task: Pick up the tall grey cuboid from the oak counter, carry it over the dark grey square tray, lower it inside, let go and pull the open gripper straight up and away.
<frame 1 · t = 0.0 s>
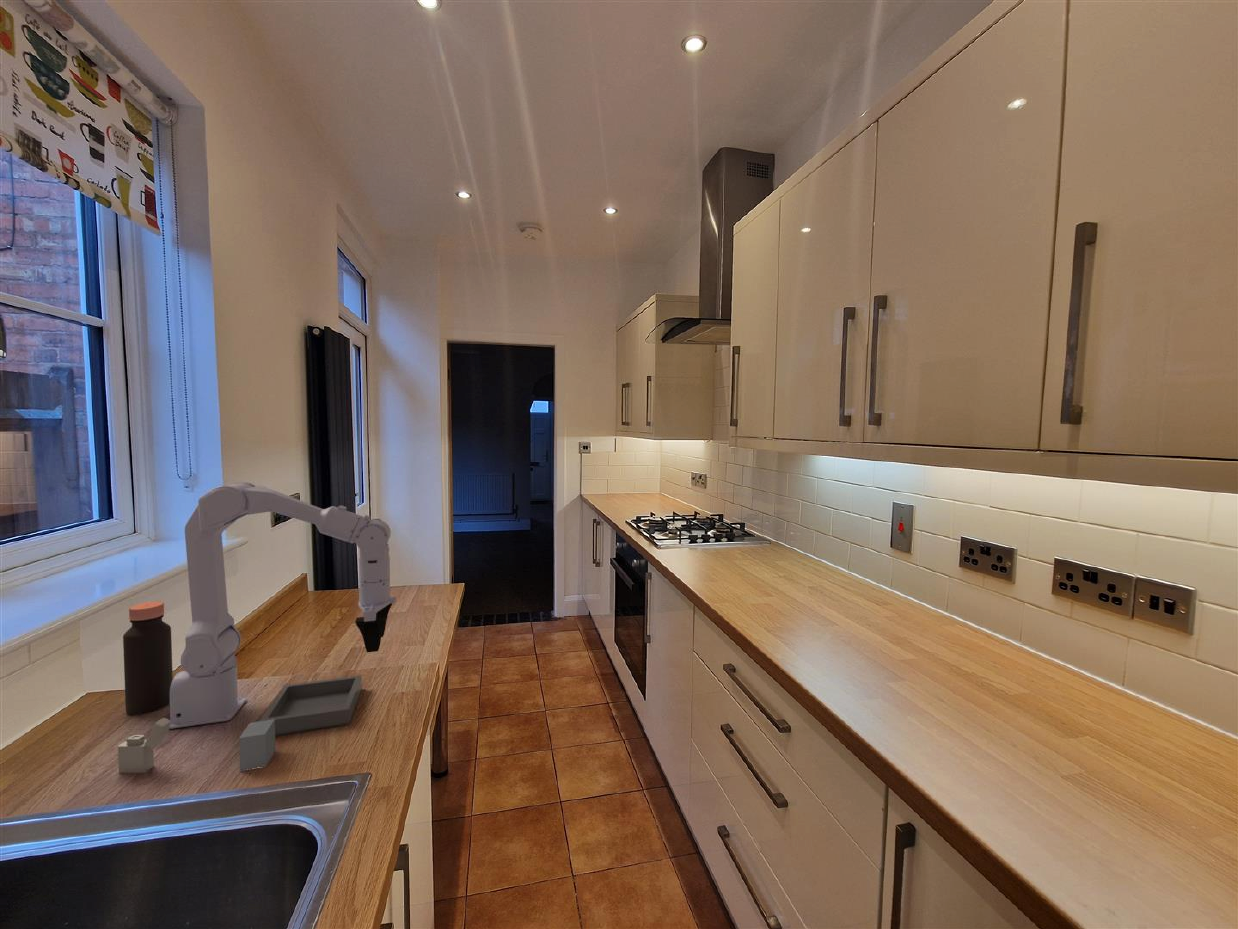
hand: (375, 644, 104), 10 cm above the counter, tool pointing down, fingers open, 7 cm apart
dark grey square tray: (315, 711, 96), on the counter
tall grey cuboid: (258, 761, 81), on the counter
lighter: (146, 770, 79), on the counter
bottle: (150, 707, 98), on the counter
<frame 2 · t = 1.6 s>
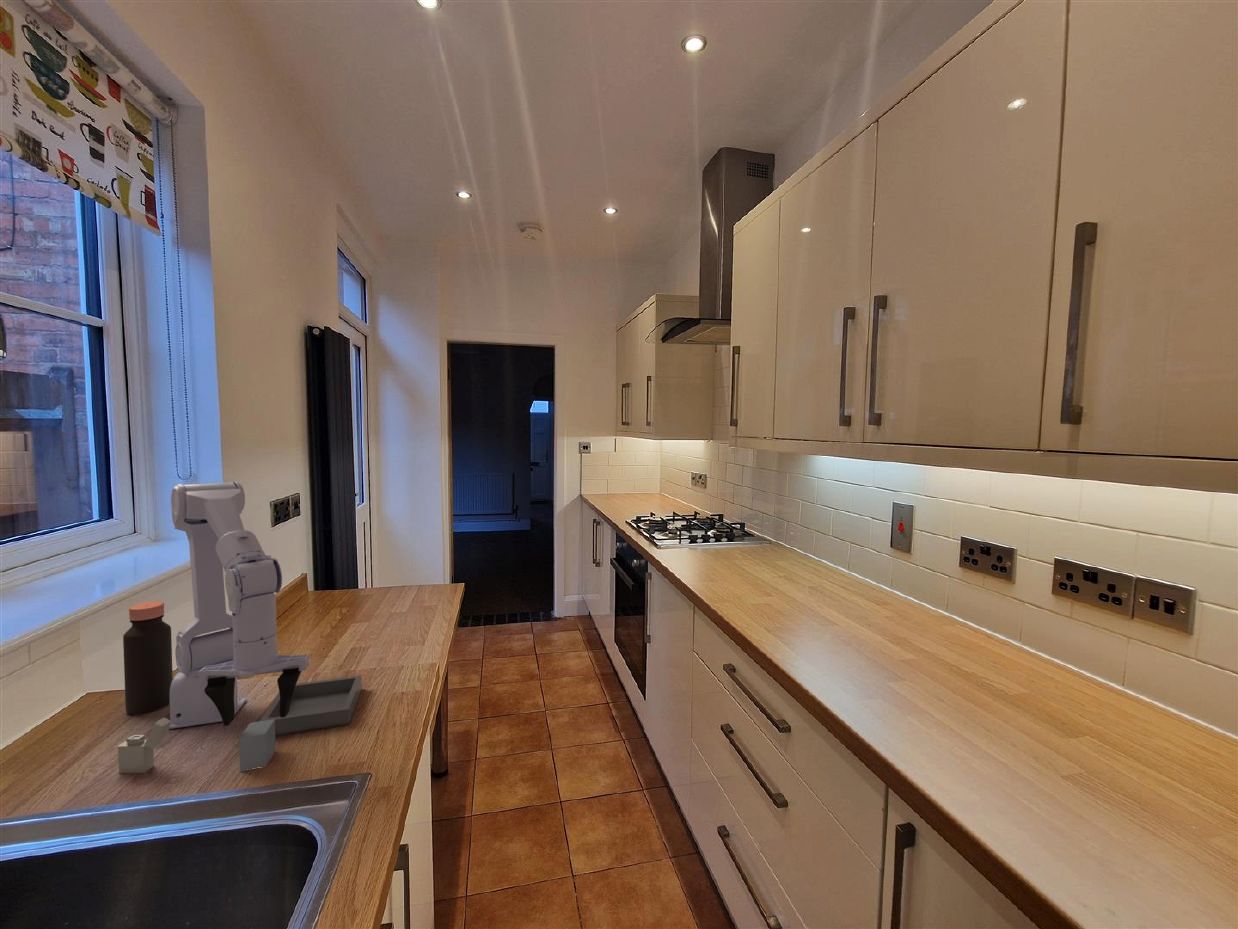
hand: (257, 718, 81), 7 cm above the counter, tool pointing down, fingers open, 7 cm apart
nothing on the counter moved.
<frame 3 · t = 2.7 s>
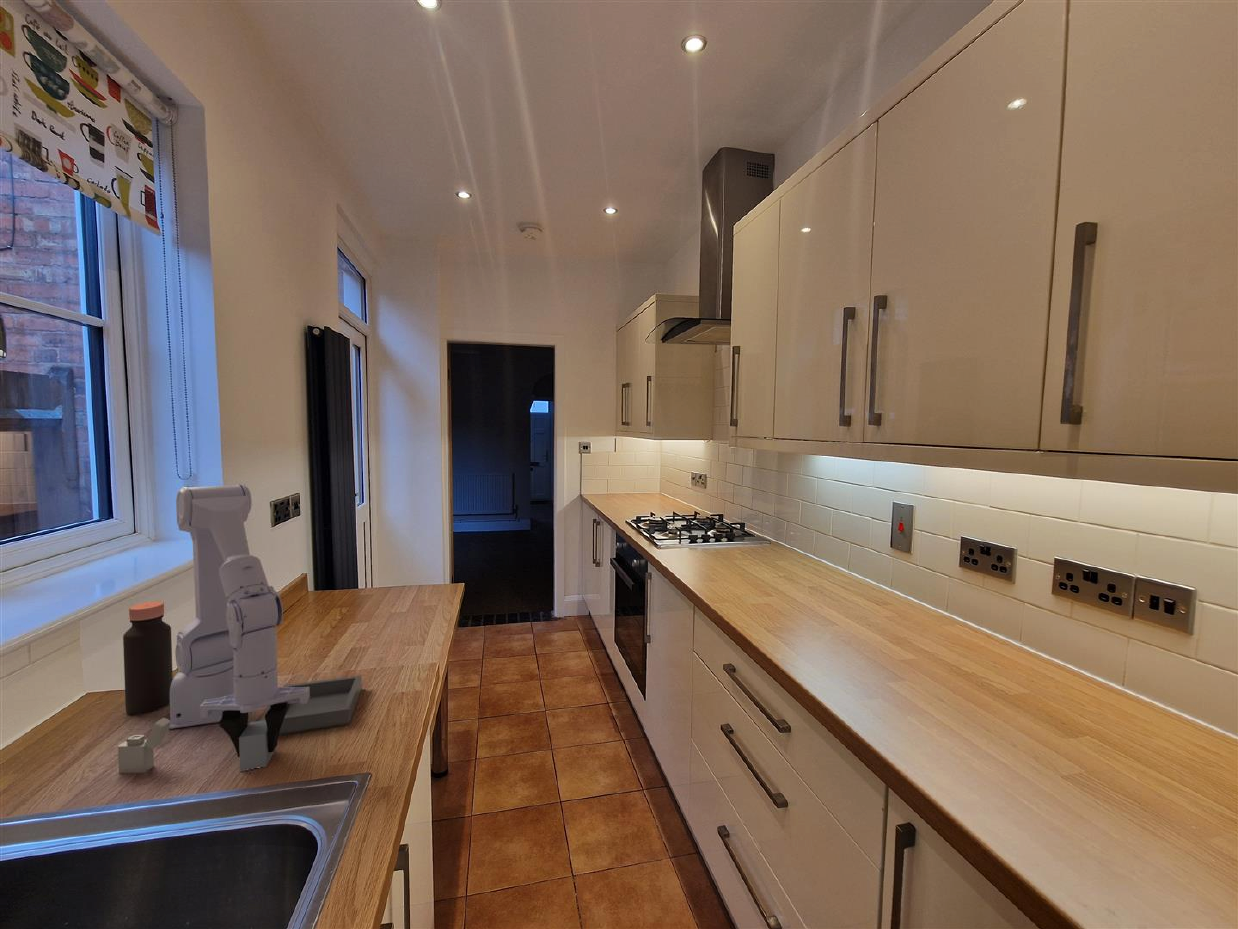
hand: (258, 751, 81), 2 cm above the counter, tool pointing down, fingers closed on tall grey cuboid, 3 cm apart
tall grey cuboid: (258, 761, 81), on the counter, touching gripper
everything else where it was.
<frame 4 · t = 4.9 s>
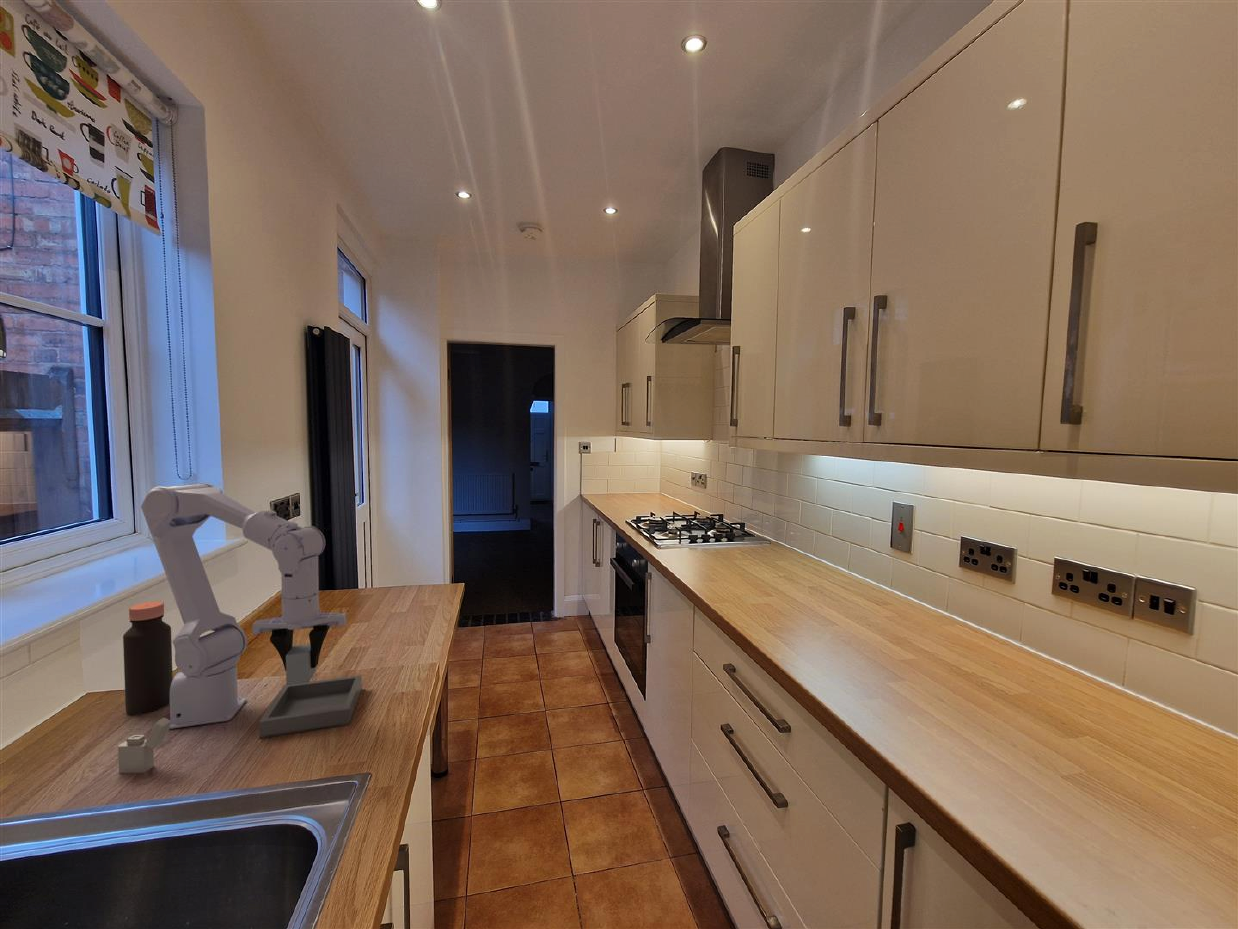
hand: (301, 667, 92), 10 cm above the counter, tool pointing down, fingers closed on tall grey cuboid, 3 cm apart
tall grey cuboid: (301, 678, 92), point 8 cm above the counter, touching gripper
everything else where it was.
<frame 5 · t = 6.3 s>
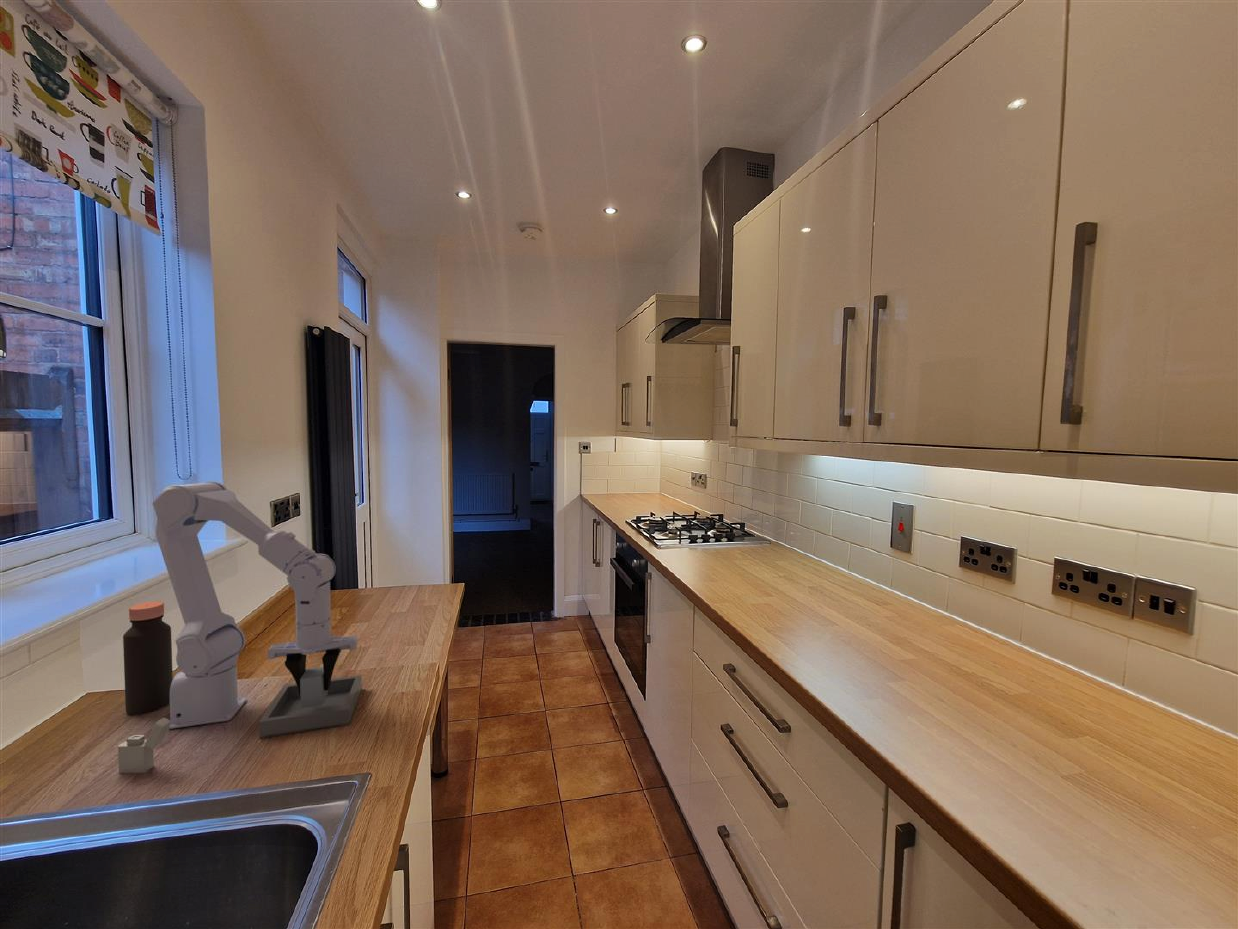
hand: (315, 689, 96), 4 cm above the counter, tool pointing down, fingers closed on tall grey cuboid, 3 cm apart
tall grey cuboid: (314, 700, 96), point 2 cm above the counter, touching gripper
everything else where it was.
when the fingers open (4 cm above the counter, at t = 7.3 s): tall grey cuboid drops 1 cm, resting on dark grey square tray.
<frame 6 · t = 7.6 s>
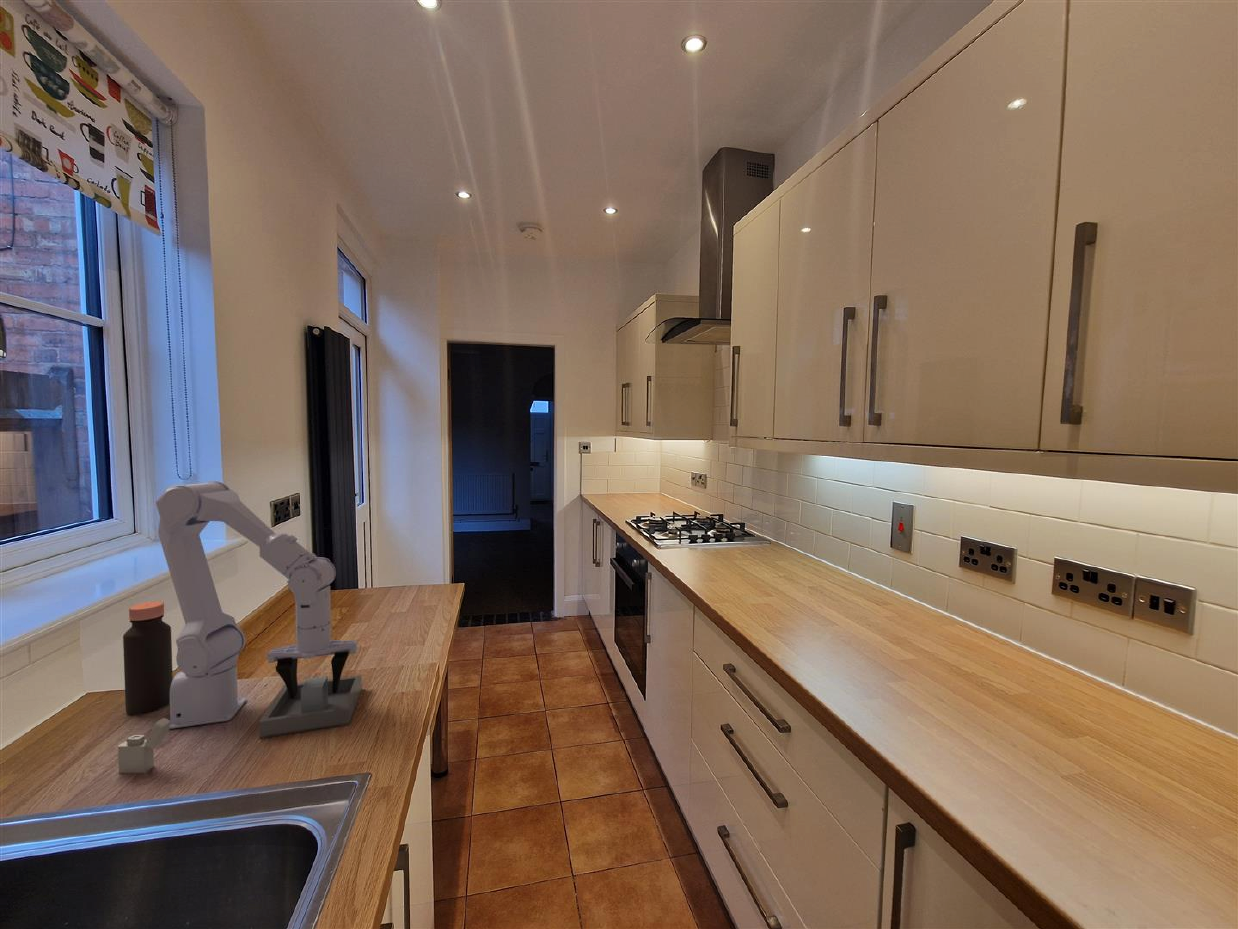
hand: (315, 693, 96), 4 cm above the counter, tool pointing down, fingers open, 6 cm apart
tall grey cuboid: (315, 710, 96), resting on dark grey square tray
everything else where it was.
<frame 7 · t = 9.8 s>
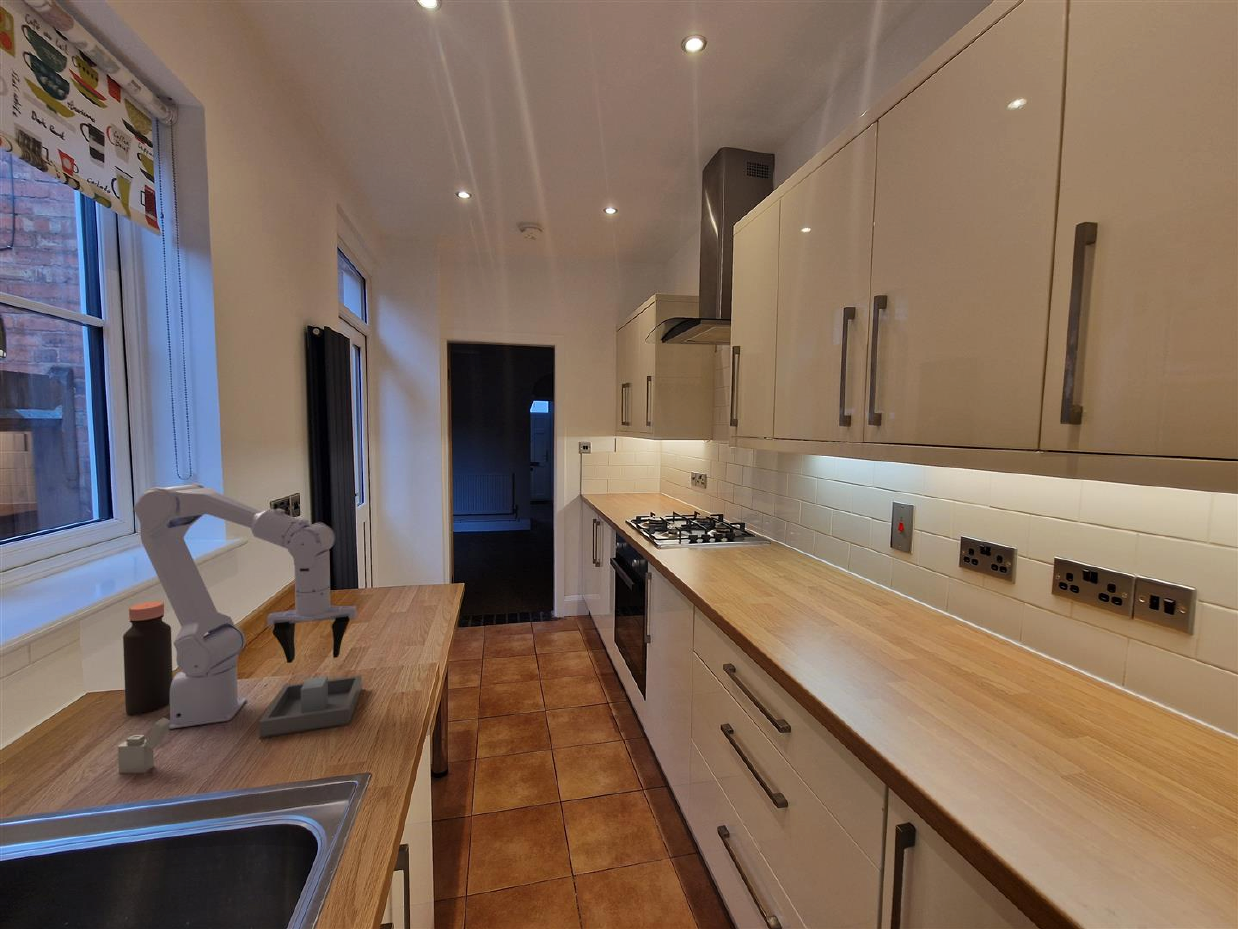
hand: (314, 658, 96), 10 cm above the counter, tool pointing down, fingers open, 7 cm apart
nothing on the counter moved.
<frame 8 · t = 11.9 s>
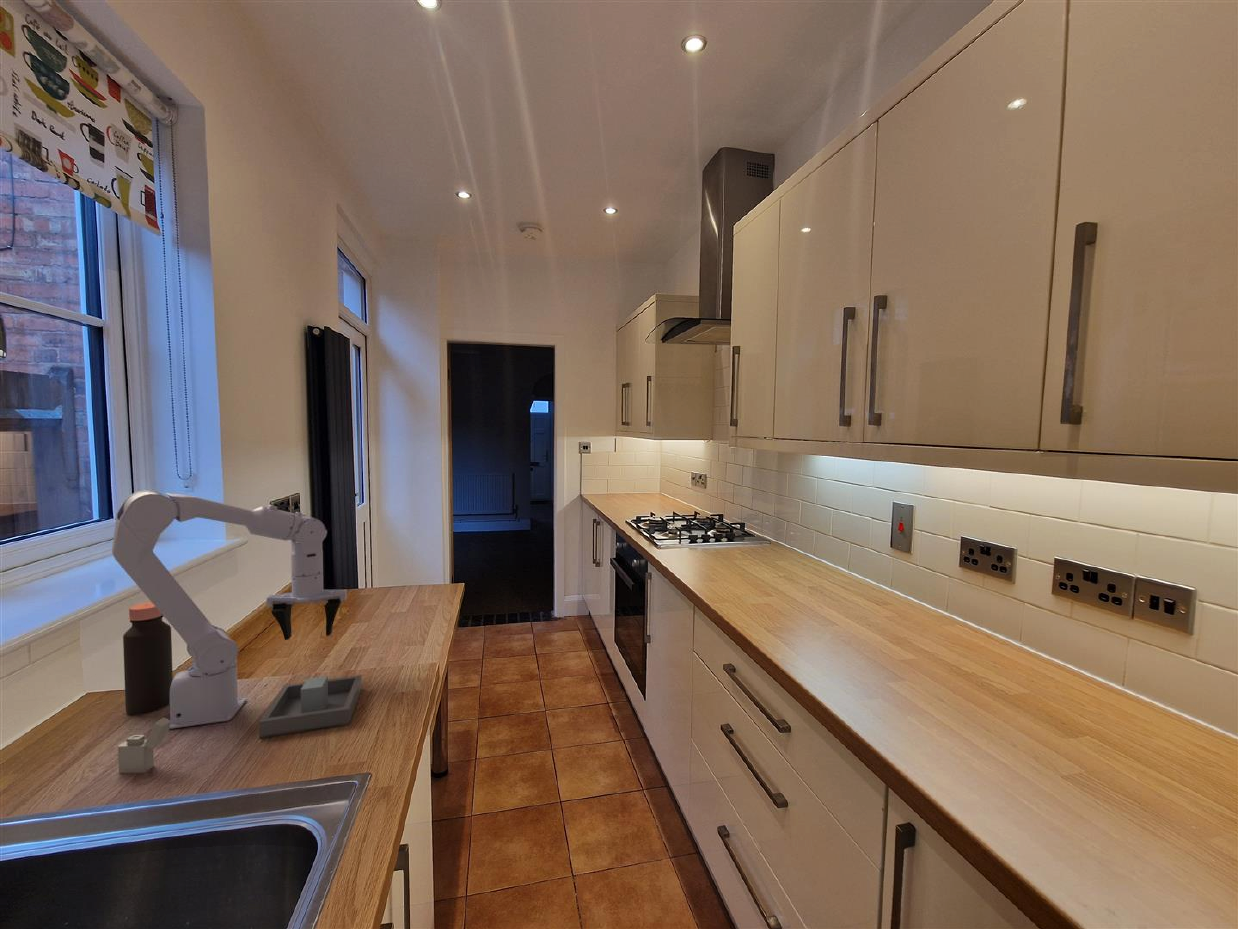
hand: (308, 636, 107), 10 cm above the counter, tool pointing down, fingers open, 7 cm apart
nothing on the counter moved.
at the end: tall grey cuboid inside the target area on the dark grey square tray (0.4 cm from its centre), point 0.4 cm above the dark grey square tray's base; tall grey cuboid tilted 0°; the gripper is holding nothing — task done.
